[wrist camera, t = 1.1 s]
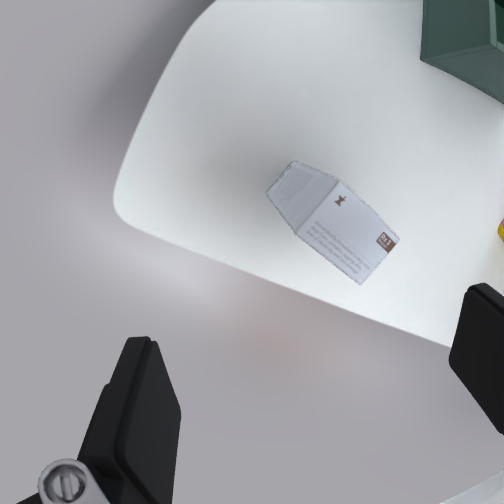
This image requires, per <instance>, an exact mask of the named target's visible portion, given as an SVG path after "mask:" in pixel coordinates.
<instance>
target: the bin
mask: <svg viewBox="0 0 504 504" xmlns="http://www.w3.org/2000/svg"><path fill="white" fill-rule="evenodd" d="M420 60H422V61H424V62H426V63H429V64H431V65H433V66H435V67H437V68H439V69H442V70H444V71H446V72H448V73H450V74H452V75H454V76H456V77H458V78H460V79H461V80H463V81H465V82H467V83H469V84H471V85H473V86H474V87H476V88H478V89H480V90H481V91H483V92H485V93H487V94H488V95H490V96H492V97H493V98H495V99H497V100H498V101H500V102H501V103H503V104H504V0H424V2H423V29H422V45H421V57H420Z"/></svg>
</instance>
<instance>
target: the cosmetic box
mask: <svg viewBox="0 0 504 504" xmlns="http://www.w3.org/2000/svg"><path fill="white" fill-rule="evenodd" d="M267 196H268V198H269V199H270V201H271V202H272V203H273V204H274V206H275V207H276V209H277V210H278V211H279V213H280V214H281V215H282V217H283V218H284V219H285V221H286V222H287V223H288V224H289V226H290V227H291V228H292V230H293V232H294V233H295V235H296V236H298V237H299V238H300V239H302V240H303V241H304V242H306V243H307V244H308V245H310V246H311V247H312V248H313V249H315V250H316V251H317V252H318V253H320V254H321V255H322V256H324V257H325V258H326V259H327V260H329V261H330V262H331V263H332V264H334V265H335V266H336V267H337V268H339V269H340V270H341V271H342V272H344V273H345V274H346V275H347V276H349V277H350V278H351V279H352V280H354V281H355V282H356V283H358V284H359V285H361V284H362V283H363V282H364V281H365V280H366V279H367V278H368V277H369V276H370V274H371V273H372V272H373V271H374V270H375V269H376V268H377V266H378V265H379V264H380V263H381V262H382V260H383V259H384V258H385V257H386V256H387V255H388V253H389V252H390V251H391V250H392V249H393V247H394V246H395V245H396V244H397V243H398V242H399V237H398V236H397V235H396V234H395V233H394V232H393V231H392V230H391V229H390V228H389V227H388V226H387V224H386V223H385V222H384V221H383V220H382V219H381V218H380V217H379V215H378V214H377V213H376V212H375V211H374V210H373V209H372V208H371V207H370V206H369V205H367V204H366V203H365V202H364V201H363V200H362V199H361V198H360V197H359V196H358V195H357V194H356V193H355V192H354V191H352V190H351V189H350V188H349V187H348V186H347V185H346V184H345V183H344V182H343V181H342V180H340V179H338V178H336V177H334V176H331V175H329V174H326V173H324V172H321V171H319V170H316V169H314V168H312V167H309V166H306V165H304V164H302V163H299V162H296V161H293V162H292V163H291V164H290V166H289V167H288V168H287V169H286V170H285V171H284V173H283V174H282V175H281V176H280V177H279V179H278V180H277V181H276V182H275V183H274V185H273V186H272V187H271V188H270V189H269V191H268V192H267Z"/></svg>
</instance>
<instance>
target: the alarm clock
mask: <svg viewBox="0 0 504 504" xmlns="http://www.w3.org/2000/svg"><path fill="white" fill-rule="evenodd" d="M498 233H499V235H500V237H501V238H502V240H503V241H504V219H503V221H502V222H501V224H500V226H499V228H498Z"/></svg>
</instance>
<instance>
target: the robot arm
mask: <svg viewBox="0 0 504 504" xmlns="http://www.w3.org/2000/svg"><path fill="white" fill-rule="evenodd" d="M449 365H450V367H451V369H452V370H453V371H454V372H455V374H456V375H457V376H458V378H460V380H461V381H462V383H463V384H464V385H465V387H466V388H467V389H468V391H469V392H470V393H471V394H472V396H473V397H474V399H475V400H476V401H477V403H478V404H479V405H480V407H481V408H482V409H483V411H484V412H485V414H486V415H487V416H488V418H489V419H490V421H491V422H492V423H493V425H494V426H495V428H496V429H497V431H498V432H499V433H501V434H503V435H504V296H502V295H501V294H500V293H498V292H497V291H496V290H495V289H493V288H492V287H491V286H489V285H488V284H486V283H480V284H476V285H472V286H470V287H469V288H468V290H467V292H466V293H465V295H464V299H463V304H462V308H461V313H460V317H459V321H458V325H457V329H456V333H455V337H454V341H453V344H452V348H451V352H450V355H449ZM180 421H181V410H180V406H179V403H178V400H177V398H176V395H175V393H174V390H173V387H172V384H171V382H170V379H169V376H168V373H167V370H166V367H165V364H164V361H163V358H162V355H161V352H160V349H159V346H158V343H157V342H156V341H151V339H150V338H149V337H147V336H144V337H129V338H128V339H127V341H126V343H125V346H124V348H123V350H122V353H121V355H120V358H119V360H118V363H117V365H116V367H115V370H114V372H113V375H112V378H111V380H110V383H109V384H106V385H105V386H104V388H103V390H102V392H101V395H100V398H99V400H98V403H97V405H96V408H95V411H94V413H93V416H92V419H91V421H90V424H89V427H88V429H87V432H86V435H85V438H84V441H83V443H82V446H81V449H80V452H79V455H78V458H77V460H74V459H60V460H57V461H54V462H53V463H51V464H50V465H48V466H47V467H46V468H45V469H44V470H43V471H42V473H41V475H40V477H39V480H38V491H39V492H38V493H36V494H35V495H32V496H30V497H29V498H27V499H25V500H23V501H21V502H19V503H17V504H172V496H173V485H174V475H175V465H176V456H177V447H178V439H179V430H180ZM439 504H504V469H503V470H502V471H500V472H498V473H497V474H495V475H493V476H492V477H490V478H488V479H487V480H485V481H483V482H481V483H479V484H478V485H476V486H474V487H472V488H470V489H468V490H466V491H464V492H462V493H460V494H458V495H456V496H454V497H452V498H450V499H448V500H446V501H443V502H441V503H439Z"/></svg>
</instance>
